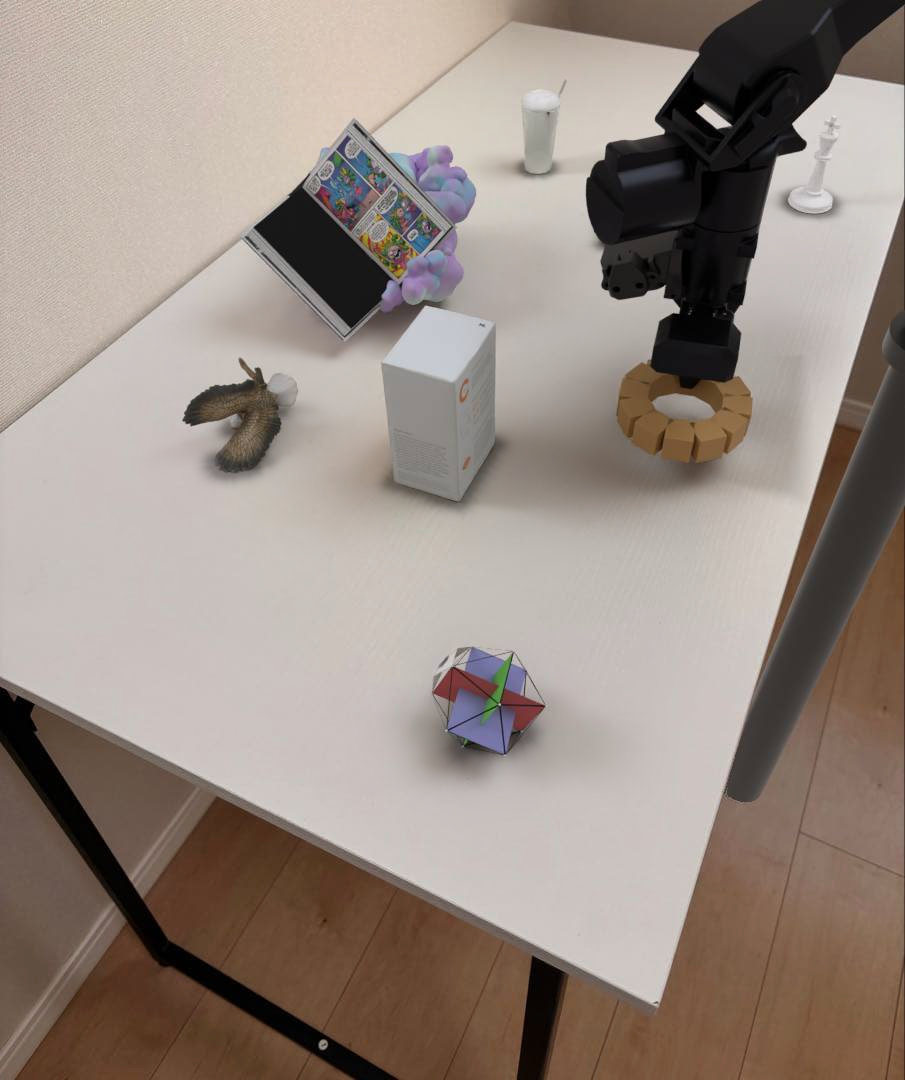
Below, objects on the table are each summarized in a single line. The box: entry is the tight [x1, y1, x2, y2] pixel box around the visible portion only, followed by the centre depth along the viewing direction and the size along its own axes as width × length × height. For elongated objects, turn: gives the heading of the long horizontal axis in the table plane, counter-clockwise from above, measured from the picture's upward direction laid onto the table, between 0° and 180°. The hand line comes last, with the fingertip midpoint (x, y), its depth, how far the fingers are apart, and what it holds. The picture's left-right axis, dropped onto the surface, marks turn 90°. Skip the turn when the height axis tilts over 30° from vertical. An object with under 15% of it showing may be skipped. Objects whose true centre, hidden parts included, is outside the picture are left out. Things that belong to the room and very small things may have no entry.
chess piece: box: [787, 115, 841, 215], centre depth 105 cm, size 5×5×10 cm
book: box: [239, 117, 477, 343], centre depth 94 cm, size 20×22×18 cm
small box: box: [380, 305, 497, 502], centre depth 77 cm, size 8×6×13 cm
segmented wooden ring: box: [615, 358, 754, 464], centre depth 79 cm, size 11×11×2 cm
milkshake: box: [520, 79, 567, 175], centre depth 112 cm, size 5×5×10 cm
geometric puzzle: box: [430, 645, 548, 758], centre depth 62 cm, size 7×7×8 cm
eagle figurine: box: [182, 357, 299, 473], centre depth 82 cm, size 8×7×9 cm
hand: (688, 377), depth 82 cm, fingers closed on segmented wooden ring, 2 cm apart
